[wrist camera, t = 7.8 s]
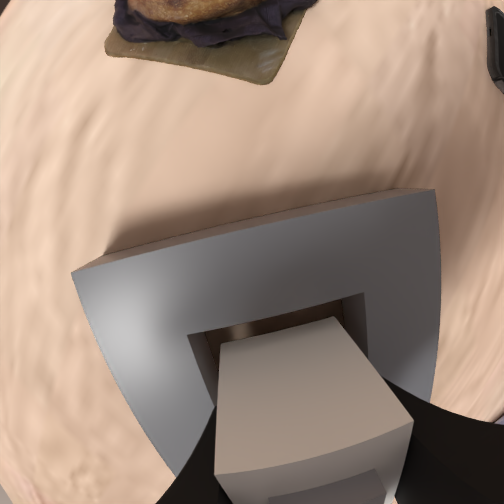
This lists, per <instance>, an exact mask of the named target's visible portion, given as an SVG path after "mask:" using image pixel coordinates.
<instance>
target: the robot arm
mask: <svg viewBox="0 0 504 504" xmlns="http://www.w3.org/2000/svg"><path fill="white" fill-rule="evenodd" d="M380 376H381V375H380ZM381 377H382V376H381ZM382 379H383V380H384V381H385V383H386V384H387V385H388V386H389V388H390V389H391V390H392V392H393V393H394V394H395V396H396V397H397V398H398V400H399V401H400V402H401V404H402V405H403V406H404V408H405V409H406V410H407V412H408V413H409V414H410V416H411V417H412V419H413V420H414V423H413V428H412V433H411V437H410V442H409V446H408V450H407V454H406V458H405V462H404V466H403V469H402V473H401V476H400V480H399V483H398V486H397V489H396V493H395V498H396V501H397V503H398V504H504V416H503V417H501V418H500V419H499V420H498V421H496V422H495V423H490V422H485V421H480V420H476V419H472V418H468V417H465V416H462V415H458V414H455V413H452V412H450V411H447V410H444V409H442V408H439V407H437V406H435V405H433V404H430V403H428V402H426V401H424V400H422V399H420V398H418V397H416V396H415V395H413V394H411V393H409V392H407V391H405V390H404V389H402V388H400V387H399V386H397V385H395V384H394V383H392V382H390V381H389V380H387V379H385V378H384V377H382ZM216 419H217V406H215V407H214V409H213V411H212V413H211V415H210V418H209V420H208V422H207V425H206V427H205V429H204V431H203V433H202V435H201V437H200V439H199V441H198V443H197V445H196V446H195V448H194V450H193V452H192V454H191V456H190V457H189V459H188V460H187V462H186V464H185V465H184V467H183V468H182V470H181V471H180V473H179V475H178V476H177V477H176V479H175V480H174V482H173V483H172V484H171V486H170V487H169V488H168V490H167V491H166V492H165V493H164V494H163V496H162V497H161V498H160V499H159V500H158V501H157V503H156V504H233V503H232V501H231V500H230V498H229V497H228V495H227V494H226V492H225V491H224V489H223V488H222V486H221V485H220V483H219V482H218V480H217V478H216V477H215V475H214V468H215V441H216Z"/></svg>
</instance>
